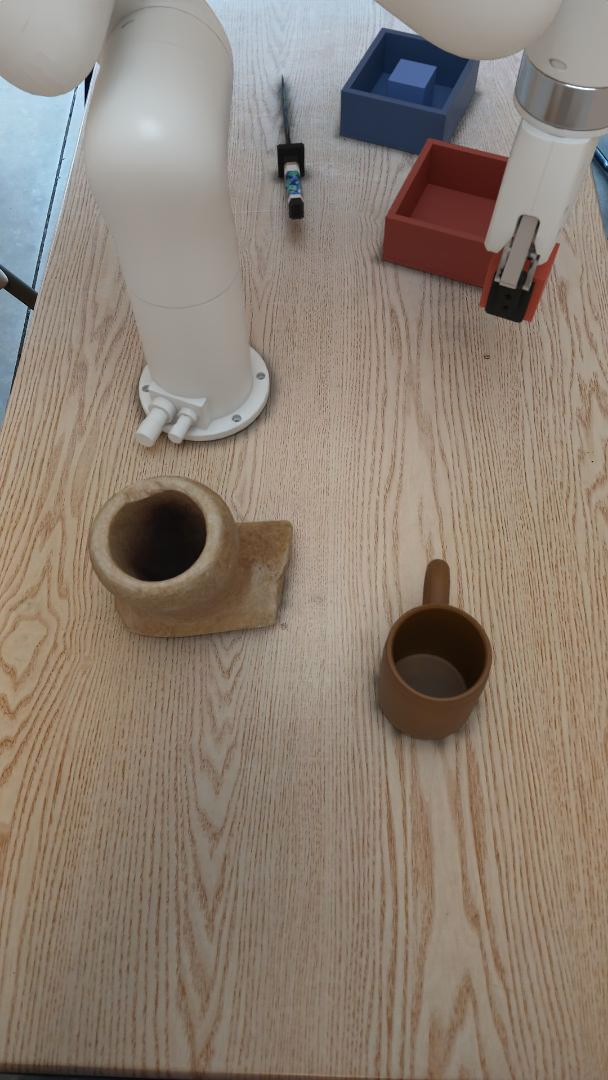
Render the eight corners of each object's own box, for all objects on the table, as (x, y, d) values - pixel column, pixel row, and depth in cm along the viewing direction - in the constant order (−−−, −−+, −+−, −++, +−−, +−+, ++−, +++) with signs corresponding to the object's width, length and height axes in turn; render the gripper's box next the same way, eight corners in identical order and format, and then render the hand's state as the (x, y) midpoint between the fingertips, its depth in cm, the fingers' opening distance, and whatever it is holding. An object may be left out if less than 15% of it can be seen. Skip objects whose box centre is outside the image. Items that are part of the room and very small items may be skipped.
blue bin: (440, 159, 97) (446, 115, 92) (339, 135, 100) (340, 90, 95) (474, 93, 103) (482, 48, 98) (379, 72, 106) (382, 26, 101)
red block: (531, 322, 68) (545, 280, 64) (478, 306, 69) (489, 264, 65) (545, 286, 70) (560, 243, 66) (494, 271, 71) (505, 227, 67)
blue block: (420, 124, 99) (424, 88, 96) (385, 115, 100) (387, 79, 96) (432, 102, 101) (437, 66, 98) (397, 94, 102) (400, 58, 98)
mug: (381, 597, 70) (389, 542, 61) (472, 604, 69) (492, 550, 61) (373, 738, 64) (381, 698, 56) (473, 747, 63) (496, 708, 55)
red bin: (495, 291, 87) (505, 248, 82) (381, 259, 89) (385, 216, 84) (530, 209, 93) (541, 164, 88) (422, 181, 95) (428, 137, 90)
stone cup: (113, 670, 67) (62, 588, 54) (120, 541, 73) (76, 440, 60) (300, 658, 67) (295, 574, 54) (293, 531, 73) (286, 427, 60)
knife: (305, 241, 89) (305, 203, 85) (277, 241, 89) (275, 203, 85) (303, 97, 107) (302, 60, 103) (279, 97, 107) (278, 61, 103)
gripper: (553, 1, 58) (498, 218, 74) (481, 143, 50) (437, 351, 66) (661, 26, 56) (581, 242, 72) (604, 176, 49) (528, 380, 65)
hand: (513, 292), depth 69 cm, fingers closed on red block, 4 cm apart
